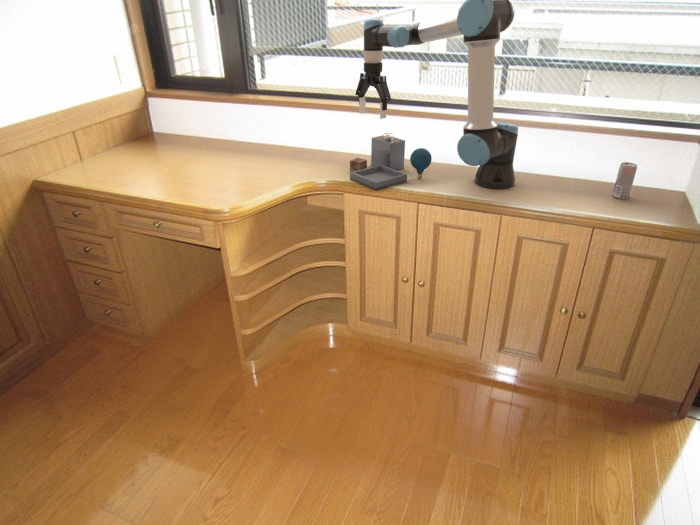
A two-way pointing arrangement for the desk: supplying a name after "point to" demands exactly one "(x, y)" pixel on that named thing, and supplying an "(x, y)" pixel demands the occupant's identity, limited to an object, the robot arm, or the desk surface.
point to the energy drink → (624, 180)
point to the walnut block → (357, 164)
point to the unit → (388, 151)
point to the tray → (378, 177)
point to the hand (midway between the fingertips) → (372, 115)
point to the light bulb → (420, 160)
